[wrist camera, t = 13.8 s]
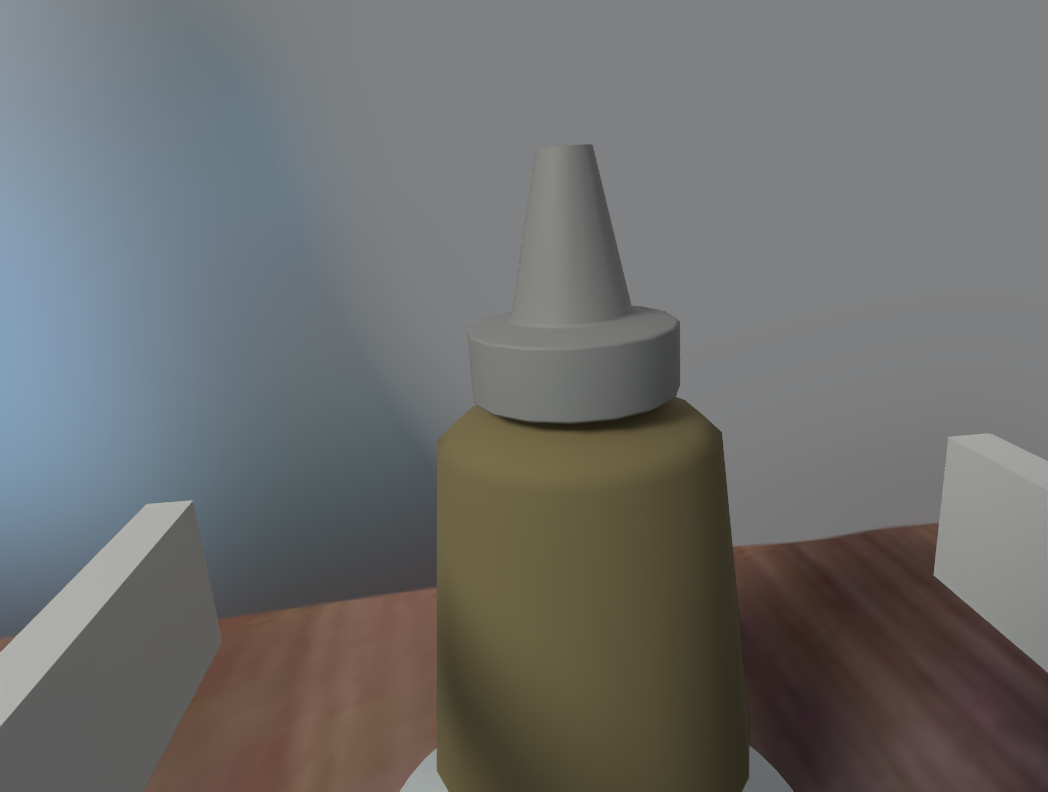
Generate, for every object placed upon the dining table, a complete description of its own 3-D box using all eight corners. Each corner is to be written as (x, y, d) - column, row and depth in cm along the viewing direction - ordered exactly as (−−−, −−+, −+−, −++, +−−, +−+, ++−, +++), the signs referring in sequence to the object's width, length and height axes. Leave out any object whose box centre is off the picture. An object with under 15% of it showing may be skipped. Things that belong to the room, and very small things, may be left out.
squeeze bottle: (416, 984, 17) (298, 156, 12) (472, 730, 25) (416, 161, 20) (781, 1004, 16) (826, 120, 11) (722, 734, 24) (731, 140, 19)
